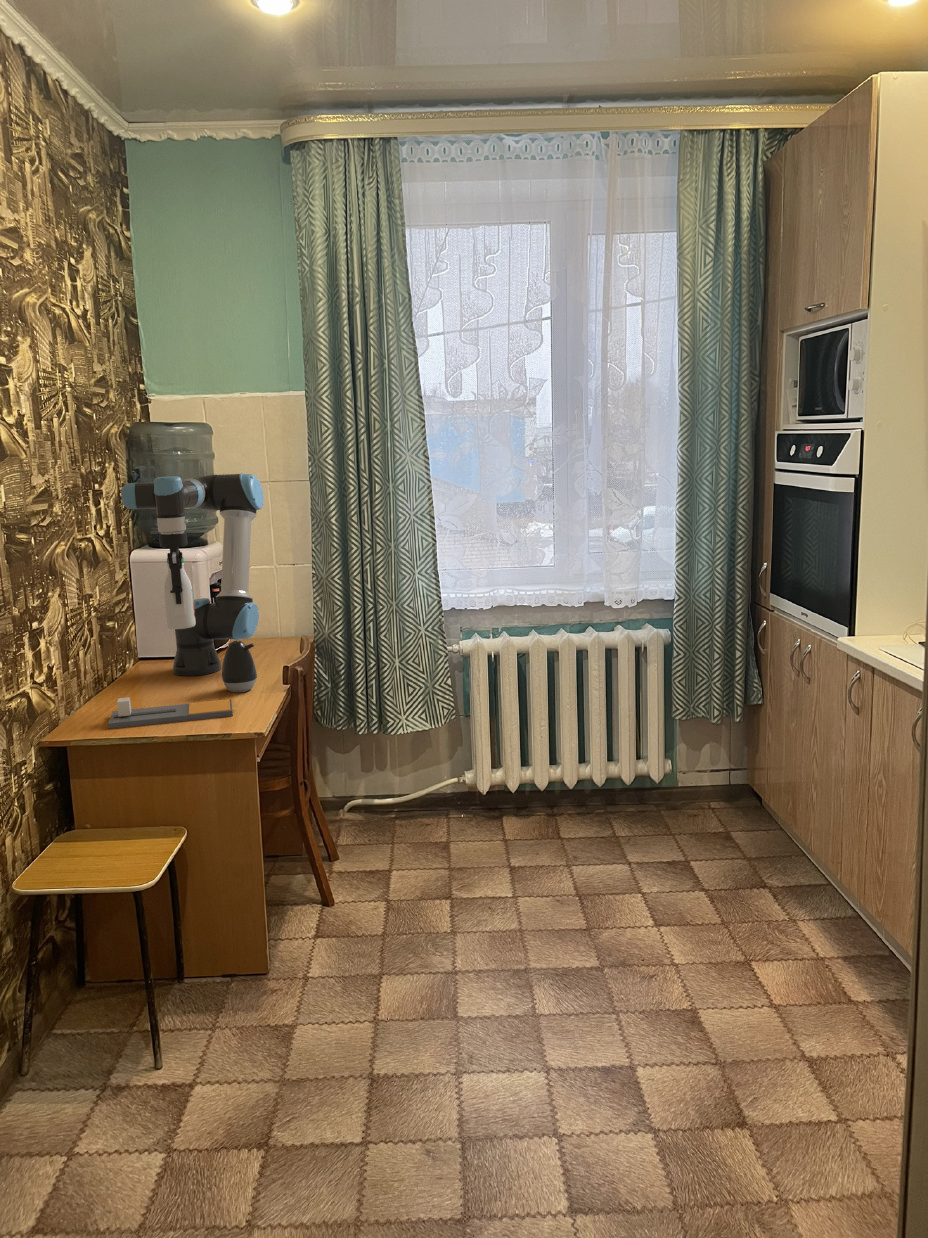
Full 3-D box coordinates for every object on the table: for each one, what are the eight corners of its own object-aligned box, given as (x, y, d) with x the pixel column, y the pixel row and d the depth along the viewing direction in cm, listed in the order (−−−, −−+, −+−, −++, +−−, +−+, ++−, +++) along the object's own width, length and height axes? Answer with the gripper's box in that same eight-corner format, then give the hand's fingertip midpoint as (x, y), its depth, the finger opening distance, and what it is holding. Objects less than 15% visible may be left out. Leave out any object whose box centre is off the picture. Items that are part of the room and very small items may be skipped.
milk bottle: (194, 628, 273) (187, 558, 269) (166, 630, 272) (158, 560, 268) (197, 623, 280) (190, 554, 277) (169, 625, 279) (162, 556, 275)
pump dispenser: (250, 695, 285) (246, 644, 282) (217, 694, 287) (212, 644, 284) (264, 686, 294) (260, 637, 291) (232, 685, 296) (228, 636, 293)
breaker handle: (119, 712, 264) (118, 698, 263) (131, 711, 265) (129, 697, 264) (118, 716, 260) (116, 702, 260) (130, 715, 261) (128, 701, 260)
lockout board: (113, 716, 268) (112, 710, 268) (231, 704, 275) (231, 698, 275) (108, 728, 256) (108, 722, 256) (232, 715, 264) (232, 709, 264)
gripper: (185, 535, 262) (193, 618, 267) (187, 528, 281) (194, 605, 286) (156, 537, 260) (165, 620, 265) (160, 529, 280) (168, 607, 284)
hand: (180, 612), depth 275 cm, fingers closed on milk bottle, 8 cm apart
